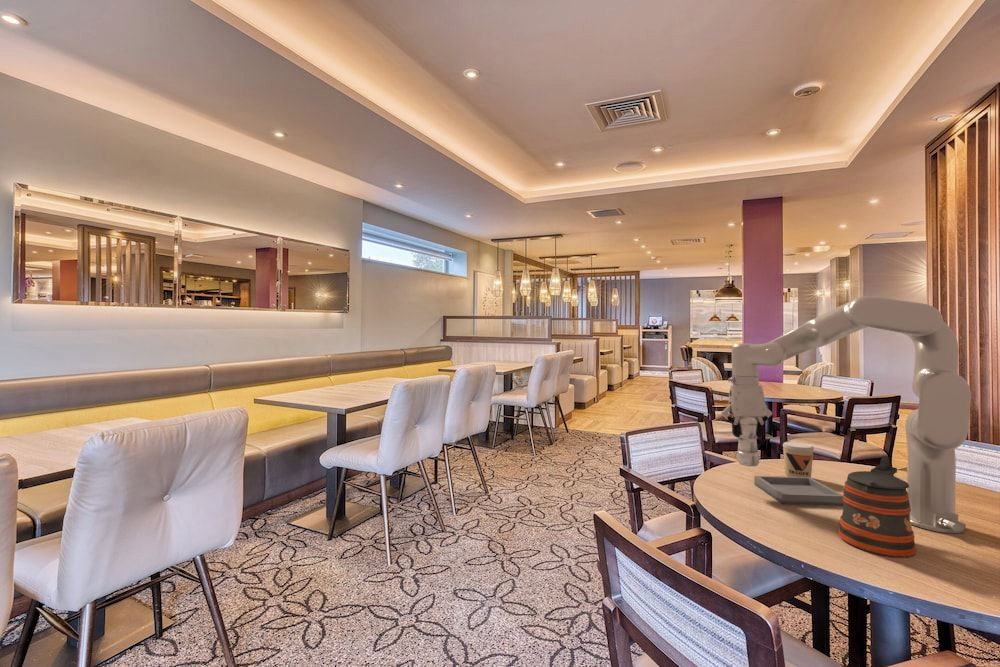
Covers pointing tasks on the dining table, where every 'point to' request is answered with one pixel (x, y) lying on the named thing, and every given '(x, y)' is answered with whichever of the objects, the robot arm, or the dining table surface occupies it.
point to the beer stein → (877, 512)
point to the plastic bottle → (748, 442)
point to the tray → (798, 491)
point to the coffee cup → (798, 459)
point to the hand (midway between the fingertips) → (747, 436)
